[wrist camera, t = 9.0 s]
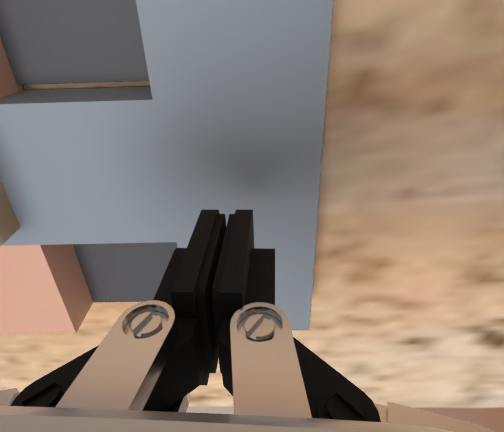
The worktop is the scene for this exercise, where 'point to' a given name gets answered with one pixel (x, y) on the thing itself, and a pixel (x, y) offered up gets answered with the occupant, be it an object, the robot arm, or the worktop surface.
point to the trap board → (155, 145)
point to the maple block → (6, 217)
